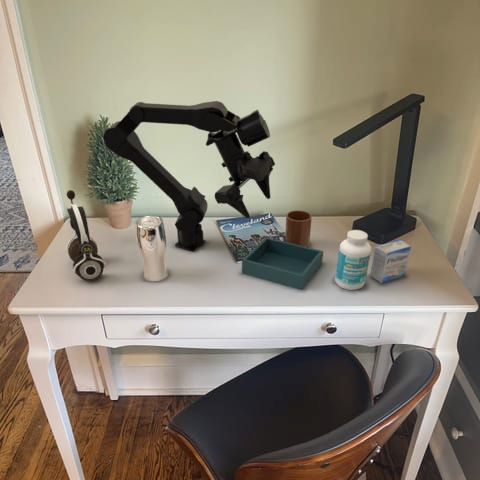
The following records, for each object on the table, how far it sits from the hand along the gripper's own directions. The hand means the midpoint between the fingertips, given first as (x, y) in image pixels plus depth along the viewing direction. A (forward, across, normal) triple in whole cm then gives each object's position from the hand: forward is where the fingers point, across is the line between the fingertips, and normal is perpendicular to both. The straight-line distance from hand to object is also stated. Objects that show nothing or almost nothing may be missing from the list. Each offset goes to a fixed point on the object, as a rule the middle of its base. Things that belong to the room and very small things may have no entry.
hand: (258, 207), depth 131 cm
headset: (-8, -39, +26) cm, 47 cm away
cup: (+16, +5, -2) cm, 16 cm away
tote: (+14, -8, -7) cm, 18 cm away
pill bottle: (+22, -3, -22) cm, 31 cm away
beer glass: (0, -30, +13) cm, 32 cm away
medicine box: (+26, +6, -27) cm, 38 cm away
